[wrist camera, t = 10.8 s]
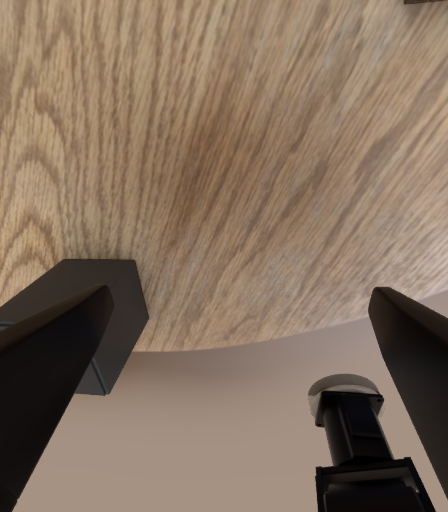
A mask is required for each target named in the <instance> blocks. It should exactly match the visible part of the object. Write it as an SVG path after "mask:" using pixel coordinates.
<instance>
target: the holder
mask: <svg viewBox="0 0 448 512" xmlns="http://www.w3.org/2000/svg"><path fill="white" fill-rule="evenodd" d="M432 1H442V0H405V2H404V4H412V3H422V2H432Z"/></svg>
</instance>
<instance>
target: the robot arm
mask: <svg viewBox="0 0 448 512" xmlns="http://www.w3.org/2000/svg"><path fill="white" fill-rule="evenodd" d="M114 308H115V302H114V299H113V296H112V293H111V290H110V287H109V286H108V285H106V284H96V285H94V286H91V287H89V288H87V289H85V290H83V291H81V292H79V293H77V294H75V295H73V296H71V297H69V298H67V299H65V300H63V301H60V302H58V303H56V304H54V305H52V306H50V307H48V308H46V309H44V310H42V311H40V312H38V313H36V314H34V315H31V316H29V317H27V318H25V319H23V320H21V321H19V322H17V323H15V324H13V325H11V326H9V327H7V328H5V329H3V330H0V512H12V511H13V509H14V507H15V505H16V503H17V499H19V497H20V495H21V493H22V491H23V489H24V488H25V486H26V484H27V482H28V480H29V478H30V476H31V474H32V473H33V471H34V469H35V467H36V465H37V463H38V461H39V459H40V457H41V456H42V454H43V452H44V449H45V448H46V446H47V444H48V442H49V440H50V438H51V437H52V435H53V433H54V431H55V429H56V427H57V425H58V423H59V421H60V420H61V418H62V416H63V414H64V412H65V410H66V408H67V406H68V404H69V402H70V401H71V398H72V397H73V395H74V393H75V391H76V389H77V387H78V386H79V384H80V382H81V380H82V378H83V376H84V374H85V372H86V370H87V369H88V367H89V365H90V363H91V361H92V359H93V357H94V355H95V353H96V351H97V349H98V347H99V345H100V343H101V341H102V338H103V336H104V333H105V331H106V328H107V326H108V323H109V321H110V319H111V316H112V314H113V311H114ZM368 313H369V317H370V320H371V322H372V326H373V329H374V332H375V335H376V338H377V341H378V344H379V348H380V351H381V353H382V356H383V359H384V361H385V363H386V366H387V368H388V370H389V372H390V374H391V377H392V379H393V381H394V383H395V385H396V388H397V390H398V392H399V394H400V396H401V399H402V401H403V403H404V405H405V407H406V410H407V412H408V414H409V416H410V418H411V420H412V423H413V425H414V427H415V429H416V431H417V434H418V436H419V438H420V440H421V442H422V444H423V447H424V449H425V451H426V453H427V456H428V457H429V460H430V462H431V464H432V466H433V468H434V471H435V473H436V475H437V477H438V479H439V482H440V484H441V486H442V488H443V490H444V493H445V495H446V497H447V499H448V318H446V317H444V316H443V315H440V314H439V313H437V312H435V311H433V310H431V309H429V308H428V307H426V306H424V305H422V304H420V303H418V302H416V301H415V300H413V299H411V298H409V297H407V296H405V295H403V294H401V293H400V292H398V291H396V290H394V289H392V288H390V287H375V288H374V289H373V291H372V295H371V299H370V303H369V307H368ZM383 402H384V398H383V396H382V395H381V394H370V393H355V392H341V391H322V392H321V394H320V399H319V404H318V408H317V413H316V418H315V425H316V426H317V427H324V428H325V431H326V435H327V440H328V444H329V449H330V453H331V457H332V463H333V466H331V467H321V466H319V467H316V476H315V480H316V491H317V504H318V512H436V511H435V509H434V506H433V504H432V502H431V500H430V498H429V496H428V494H427V492H426V489H425V487H424V485H423V483H422V481H421V479H420V477H419V475H418V472H417V470H416V468H415V466H414V464H413V462H412V460H411V457H404V459H397V460H395V459H394V457H393V454H392V452H391V450H390V447H389V445H388V442H387V440H386V437H385V435H384V432H383V430H382V427H381V425H380V422H379V420H378V415H379V412H380V410H381V407H382V405H383ZM416 490H417V492H416Z"/></svg>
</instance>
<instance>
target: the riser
mask: <svg viewBox="0 0 448 512" xmlns="http://www.w3.org/2000/svg"><path fill="white" fill-rule="evenodd" d="M96 284H106V285H108V286H109V287H110V290H111V293H112V296H113V299H114V302H115V308H114V311H113V314H112V316H111V319H110V321H109V323H108V326H107V328H106V331H105V333H104V336H103V338H102V341H101V343H100V345H99V347H98V349H97V351H96V353H95V355H94V357H93V359H92V361H91V363H90V365H89V367H88V369H87V370H86V372H85V374H84V376H83V378H82V380H81V382H80V384H79V386H78V387H77V389H76V391H75V393H76V394H90V395H103V396H105V394H110V392H111V390H112V388H113V386H114V384H115V382H116V381H117V379H118V377H119V375H120V373H121V371H122V369H123V367H124V365H125V363H126V361H127V359H128V358H129V356H130V354H131V352H132V350H133V348H134V346H135V344H136V342H137V340H138V339H139V337H140V335H141V333H142V331H143V329H144V327H145V325H146V323H147V321H148V319H149V317H148V313H147V309H146V305H145V301H144V297H143V293H142V289H141V285H140V281H139V277H138V273H137V269H136V265H135V261H134V260H79V259H64V260H62V261H61V262H59V263H58V264H57V265H55V266H54V267H53V268H51V269H50V270H49V271H47V272H46V273H45V274H44V275H42V276H41V277H40V278H38V279H37V280H36V281H34V282H33V283H32V284H30V285H29V286H28V287H26V288H25V289H24V290H22V291H21V292H20V293H18V294H17V295H16V296H14V297H13V298H12V299H10V300H9V301H8V302H6V303H5V304H4V305H2V306H1V307H0V330H3V329H5V328H7V327H9V326H11V325H13V324H15V323H17V322H19V321H21V320H23V319H25V318H27V317H29V316H31V315H34V314H36V313H38V312H40V311H42V310H44V309H46V308H48V307H50V306H52V305H54V304H56V303H58V302H60V301H63V300H65V299H67V298H69V297H71V296H73V295H75V294H77V293H79V292H81V291H83V290H85V289H87V288H89V287H91V286H94V285H96Z"/></svg>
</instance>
